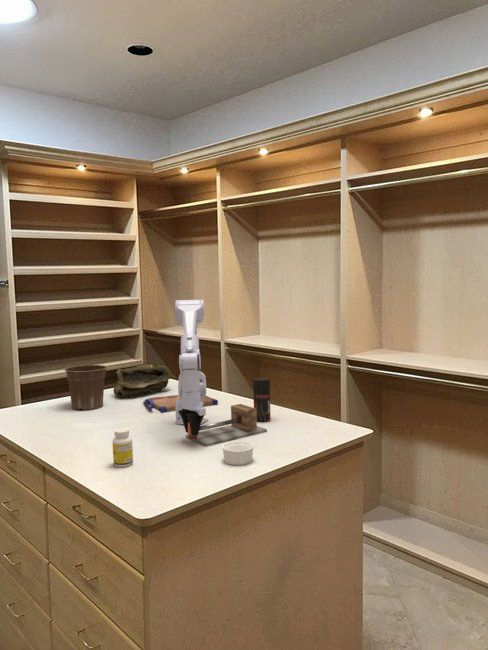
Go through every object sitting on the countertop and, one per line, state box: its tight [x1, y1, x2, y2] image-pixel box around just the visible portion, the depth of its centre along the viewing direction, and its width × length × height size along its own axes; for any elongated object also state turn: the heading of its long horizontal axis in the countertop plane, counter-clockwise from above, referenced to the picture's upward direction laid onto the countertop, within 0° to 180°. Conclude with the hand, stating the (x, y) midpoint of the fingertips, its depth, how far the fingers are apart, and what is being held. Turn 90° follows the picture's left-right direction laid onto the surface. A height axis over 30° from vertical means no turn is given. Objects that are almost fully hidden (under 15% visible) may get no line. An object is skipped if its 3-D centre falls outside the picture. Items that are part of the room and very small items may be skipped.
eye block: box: [185, 403, 268, 447], centre depth 176 cm, size 24×12×8 cm, turn 126°
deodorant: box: [252, 377, 272, 423], centre depth 192 cm, size 6×6×15 cm
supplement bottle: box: [112, 427, 134, 468], centre depth 150 cm, size 5×5×10 cm
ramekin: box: [221, 440, 255, 466], centre depth 152 cm, size 9×9×4 cm
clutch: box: [143, 394, 219, 414], centre depth 219 cm, size 28×5×20 cm
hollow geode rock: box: [113, 362, 173, 398], centre depth 241 cm, size 28×13×15 cm
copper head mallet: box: [187, 418, 237, 440], centre depth 173 cm, size 18×3×5 cm, turn 126°
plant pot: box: [64, 364, 108, 411], centre depth 217 cm, size 16×16×16 cm
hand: (192, 433), depth 168 cm, fingers closed on copper head mallet, 3 cm apart
